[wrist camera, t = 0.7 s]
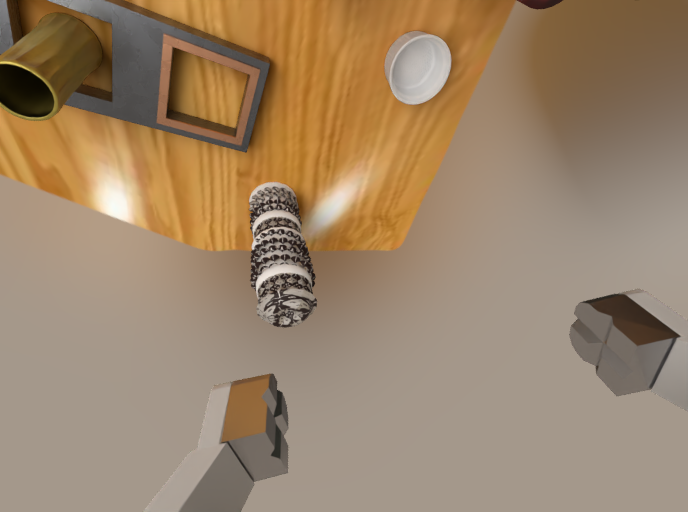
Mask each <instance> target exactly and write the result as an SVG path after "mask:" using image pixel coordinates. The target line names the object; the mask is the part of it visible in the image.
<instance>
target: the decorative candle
mask: <svg viewBox="0 0 688 512" xmlns="http://www.w3.org/2000/svg"><path fill="white" fill-rule="evenodd" d="M249 202H250V203H249V205H250V209H249V210H250V211H251V212H253V213H250V218H251V220H250V223H251V227H250V229H251V231H252V234H253V238H254V241H253V244H252V251H251V255H252V256H251V263H252V266H251V267H252V269H251V273H252V274H251V282H252V284H251V286H252V288H253V289H255V291H256V292H257V297H258V306H257V313H258V315H259V316H260V318H262V320H264V321H267V322H269V323H270V324H272V325H274V326H277V327H292V326H295V325H298V324H300V323H302V322H303V321H305V320H306V319H307V318H308V316H309V315H310V314H312V313H313V311H314V310H315V309H316V306H317V300H316V298H315V297H314V295H313V292H312V287H313V286H314V285H315V282H314V281H313V280H314V279H315V274H314V273H313V268H312V263H311V262H310V261H311V258H310V257H309V256H308V255H309V252H308V248H307V247H306V242H305V239H304V238H303V236H302V234H301V225H302V222H301V221H300V215H298V214H299V208H298V203H297V199H296V195H295V193H294V191H293V190H292V189H291V188H290V187H288V186H287V185H286V184H282V183H279V182H267V183H264V184H262V185H259V186H258V187H257V188H256V189H255V190H254V191H252V193H251V196H250V198H249ZM257 276H258V277H257Z"/></svg>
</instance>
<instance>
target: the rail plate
mask: <svg viewBox="0 0 688 512" xmlns="http://www.w3.org/2000/svg"><path fill="white" fill-rule="evenodd" d="M48 1H51V2H54V3H56V4H59V5H62V6H65V7H67V8H70V9H73V10H76V11H78V12H81V13H84V14H87V15H89V16H92V17H95V18H98V19H100V20H103V21H106V22H109V23H111V24H112V92H113V93H111V92H107V91H104V90H100V89H97V88H93V87H90V86H86V85H83V84H81V85H80V86H79V87H78V88H77V89H76V90H75V91H74V93H73V94H72V95H71V96H70V97H69V99H68V100H67V101H66V103H65V104H64V105H68V106H72V107H76V108H79V109H83V110H87V111H91V112H95V113H98V114H102V115H106V116H110V117H113V118H117V119H121V120H125V121H129V122H132V123H136V124H140V125H144V126H148V127H151V128H155V129H159V130H163V131H167V132H170V133H174V134H178V135H182V136H186V137H189V138H193V139H197V140H201V141H204V142H208V143H212V144H216V145H220V146H223V147H227V148H231V149H235V150H239V151H242V152H246V153H247V149H248V145H249V141H250V137H251V134H252V130H253V126H254V122H255V119H256V115H257V111H258V107H259V104H260V100H261V96H262V92H263V89H264V85H265V81H266V77H267V74H268V70H269V66H270V61H269V57H266V56H264V55H261V54H259V53H256V52H254V51H251V50H248V49H246V48H243V47H241V46H238V45H236V44H233V43H231V42H228V41H226V40H223V39H220V38H218V37H215V36H213V35H210V34H208V33H205V32H203V31H200V30H198V29H195V28H192V27H190V26H187V25H185V24H182V23H180V22H177V21H175V20H172V19H170V18H167V17H165V16H162V15H159V14H157V13H154V12H152V11H149V10H147V9H144V8H142V7H139V6H137V5H134V4H131V3H129V2H126V1H124V0H48ZM22 38H23V34H22V28H21V21H20V15H19V8H18V2H17V0H0V55H1V54H3V53H4V52H5V51H7V50H8V49H9V48H11V47H12V46H13V45H15V44H16V43H17V42H18V41H19V40H21V39H22ZM174 47H175V48H178V49H180V50H183V51H186V52H189V53H191V54H194V55H197V56H200V57H202V58H205V59H208V60H211V61H213V62H216V63H219V64H222V65H225V66H227V67H230V68H233V69H236V70H238V71H241V72H244V73H247V74H248V77H247V81H246V86H245V90H244V94H243V99H242V103H241V107H240V112H239V116H238V120H237V124H236V129H235V128H231V127H228V126H225V125H221V124H218V123H214V122H211V121H207V120H204V119H200V118H197V117H194V116H190V115H187V114H183V113H180V112H176V111H173V110H169V109H168V107H169V97H170V87H171V77H172V67H173V57H174Z"/></svg>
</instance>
